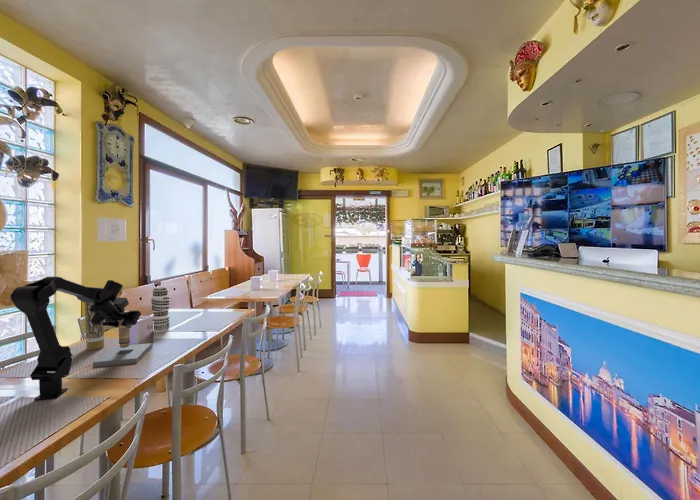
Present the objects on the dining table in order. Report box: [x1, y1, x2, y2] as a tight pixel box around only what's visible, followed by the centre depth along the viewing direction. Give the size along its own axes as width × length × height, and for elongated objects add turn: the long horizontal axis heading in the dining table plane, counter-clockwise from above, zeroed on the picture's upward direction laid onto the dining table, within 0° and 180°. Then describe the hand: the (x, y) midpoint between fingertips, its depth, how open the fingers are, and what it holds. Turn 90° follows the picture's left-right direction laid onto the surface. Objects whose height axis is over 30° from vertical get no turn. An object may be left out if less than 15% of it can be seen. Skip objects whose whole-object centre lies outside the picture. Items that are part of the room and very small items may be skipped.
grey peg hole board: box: [92, 342, 153, 368], centre depth 146 cm, size 20×16×2 cm
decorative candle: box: [150, 286, 171, 333], centre depth 185 cm, size 9×9×25 cm
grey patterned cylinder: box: [84, 302, 105, 351], centre depth 155 cm, size 7×7×25 cm
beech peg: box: [118, 310, 131, 348], centre depth 145 cm, size 4×4×16 cm
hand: (126, 326), depth 146 cm, fingers closed on beech peg, 4 cm apart
